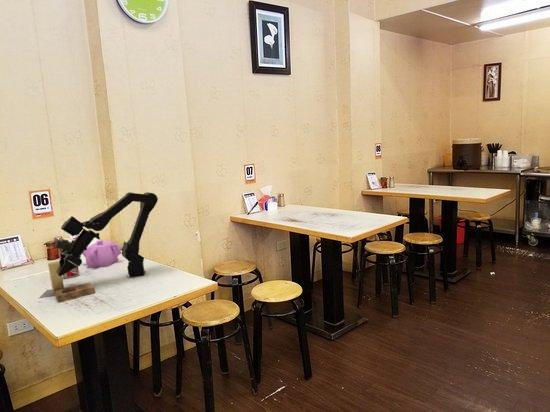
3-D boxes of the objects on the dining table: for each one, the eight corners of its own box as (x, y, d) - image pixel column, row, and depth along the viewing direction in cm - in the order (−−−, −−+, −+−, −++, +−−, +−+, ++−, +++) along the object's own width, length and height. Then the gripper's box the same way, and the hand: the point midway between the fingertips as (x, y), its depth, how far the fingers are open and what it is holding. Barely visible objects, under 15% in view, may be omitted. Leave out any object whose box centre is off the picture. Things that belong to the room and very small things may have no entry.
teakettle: (93, 270, 206) (89, 246, 204) (80, 265, 218) (76, 242, 216) (126, 261, 218) (122, 238, 216) (112, 257, 230) (108, 235, 228)
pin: (63, 290, 178) (58, 261, 176) (65, 293, 174) (59, 263, 172) (53, 293, 175) (47, 263, 173) (54, 295, 172) (49, 265, 170)
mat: (71, 287, 182) (71, 286, 182) (64, 295, 173) (64, 294, 173) (47, 290, 181) (46, 290, 181) (38, 299, 171) (38, 298, 171)
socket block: (91, 288, 178) (90, 282, 177) (95, 293, 171) (94, 286, 171) (56, 297, 171) (54, 290, 170) (58, 303, 164) (57, 296, 163)
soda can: (73, 279, 195) (68, 252, 193) (59, 279, 196) (54, 252, 194) (82, 274, 202) (78, 248, 200) (69, 274, 203) (65, 248, 201)
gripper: (62, 228, 182) (37, 258, 178) (68, 234, 167) (42, 267, 162) (84, 242, 187) (61, 272, 183) (92, 249, 172) (67, 282, 168)
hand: (57, 273), depth 174 cm, fingers open, 9 cm apart
